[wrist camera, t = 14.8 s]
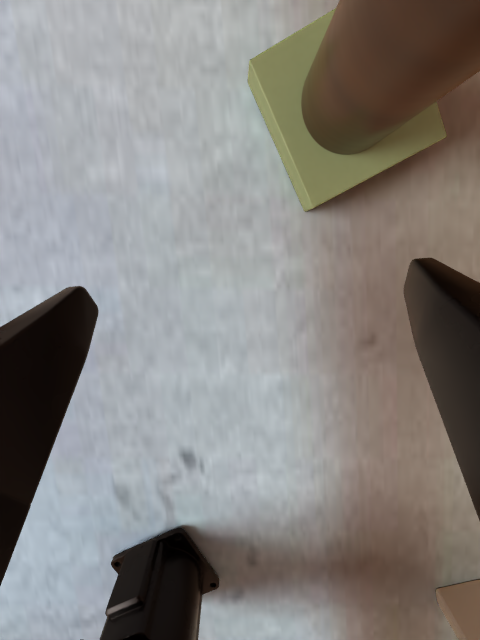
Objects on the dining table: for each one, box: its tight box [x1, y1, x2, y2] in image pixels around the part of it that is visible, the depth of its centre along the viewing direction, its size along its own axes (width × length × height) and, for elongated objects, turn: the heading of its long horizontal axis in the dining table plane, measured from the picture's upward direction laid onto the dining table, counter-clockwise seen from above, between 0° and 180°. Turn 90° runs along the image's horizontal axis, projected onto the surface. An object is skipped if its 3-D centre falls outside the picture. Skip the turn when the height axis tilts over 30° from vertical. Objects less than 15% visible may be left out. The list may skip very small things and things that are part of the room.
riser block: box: [248, 8, 447, 212], centre depth 16 cm, size 8×8×2 cm
